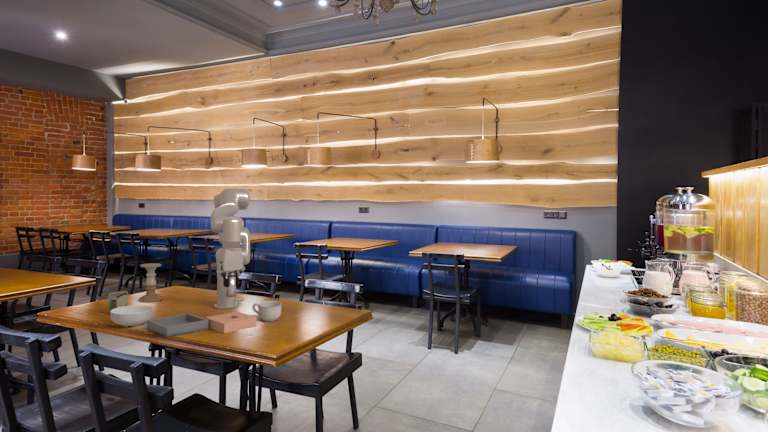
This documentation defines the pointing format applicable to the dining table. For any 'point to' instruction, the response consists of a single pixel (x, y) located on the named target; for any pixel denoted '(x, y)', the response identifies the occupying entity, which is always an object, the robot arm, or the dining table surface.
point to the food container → (117, 299)
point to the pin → (231, 285)
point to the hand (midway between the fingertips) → (231, 285)
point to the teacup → (268, 310)
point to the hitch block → (231, 322)
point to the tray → (177, 325)
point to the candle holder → (150, 284)
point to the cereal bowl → (131, 315)
